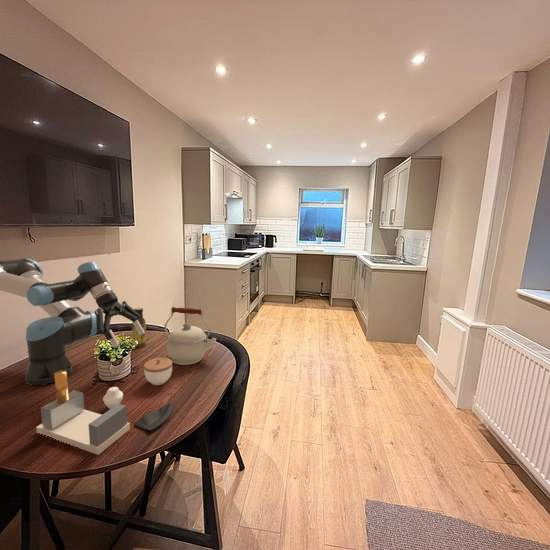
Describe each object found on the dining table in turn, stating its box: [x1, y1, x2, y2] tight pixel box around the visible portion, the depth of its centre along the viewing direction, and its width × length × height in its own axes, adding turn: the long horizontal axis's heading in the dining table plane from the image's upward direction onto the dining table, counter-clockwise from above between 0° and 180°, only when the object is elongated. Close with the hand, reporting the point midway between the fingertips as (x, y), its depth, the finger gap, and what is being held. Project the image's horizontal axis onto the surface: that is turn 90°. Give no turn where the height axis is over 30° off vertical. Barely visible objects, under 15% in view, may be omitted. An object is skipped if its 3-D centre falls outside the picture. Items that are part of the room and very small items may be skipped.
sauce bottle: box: [131, 307, 147, 348], centre depth 148 cm, size 6×6×20 cm
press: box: [35, 403, 131, 456], centre depth 86 cm, size 24×11×8 cm, turn 72°
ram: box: [40, 370, 85, 430], centre depth 88 cm, size 4×10×15 cm, turn 162°
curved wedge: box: [133, 401, 175, 434], centre depth 94 cm, size 8×14×2 cm, turn 153°
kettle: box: [164, 306, 217, 366], centre depth 135 cm, size 25×18×25 cm
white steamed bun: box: [102, 386, 124, 410], centre depth 99 cm, size 6×6×7 cm
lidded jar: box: [143, 357, 174, 386], centre depth 115 cm, size 11×11×9 cm
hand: (130, 339), depth 118 cm, fingers open, 13 cm apart
